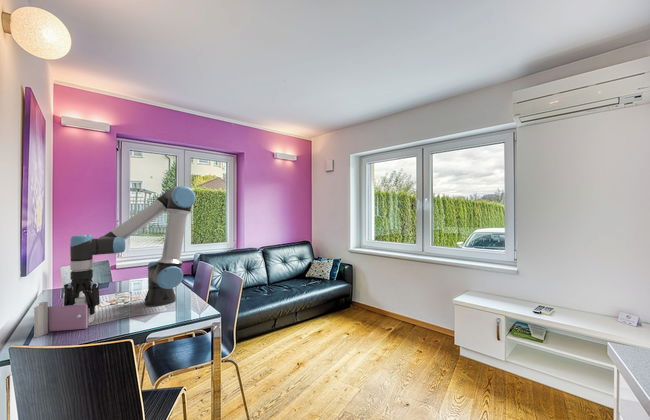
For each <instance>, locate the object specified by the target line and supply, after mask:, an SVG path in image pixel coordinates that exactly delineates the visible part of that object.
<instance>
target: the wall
mask: <svg viewBox="0 0 650 420" xmlns="http://www.w3.org/2000/svg"><path fill="white" fill-rule="evenodd" d="M84 296H85V295H84V293H83V292H82V291H81V292H80V293H79V296H78V297H84ZM48 302H49V301H42V302H39V304H38V306H35V307H33V313H34V317H33V318H34V319H33V320H34V322H33V323H34V324H33V325H34V326H33V327H34V328H33V329H34V330H33V332H34V333H33V334H34V335H33V336H34V338H40V337H42V336H44V335H47V334H48V333H49V332H48V307H49V305H48V304H49V303H48Z"/></svg>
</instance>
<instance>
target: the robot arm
mask: <svg viewBox="0 0 650 420" xmlns="http://www.w3.org/2000/svg"><path fill="white" fill-rule="evenodd" d="M196 197H197V196H196V193H195V191H194V190H193V189H192V188H190V187H189V186H184V185H179V186H175V187H170V188H169V189H167V190H166V191H165V192H163V194H161V195H160V196H159V197H157V198H155V199H154V202H153V203H152V204H150V205H148V206H147V207H145V208H144V209H142V210H141V211H139V212H137V213H136V214H135V215H133V216H131V217H130V218H128V219H126V221H123V222H122V223H121V224H119V225H118V226H116V227H115V228H113V229H112V230H111V231H109V232H107V233H106V234H104V235H101V236H100V237H98V238H94V237H93V234H74V235H72V236H71V237H70V244H69V248H70V249H69V252H70V255H69V256H70V265H69V267H70V269H69V270H70V274H69V275H70V276H69V278H70V280H71V281H70V282H69V283H66V284H64V285H63V288H64V293H65V295H64V306H69V305H74V304H75V303H76V302H75V298H78V296H79V293H80V292H81V291H82V292H83V293H84V295H85V297H86V300H87V303H88V306H89V307H88V324H89V323H90V324H91V323H93V322H94V315H95V313H96V306H99V305H100V304H101V299H100V288H99V287H100V282H98V281H97V282H94V281H93V276H94V274H93V273H94V270H93V269H92V268H93V267H94V263H93V261H94V256H99V255H101V256H102V255H113V254H122V253H124V252H125V250H126V240H128V239H129V238H130V237H131V236H133V235H135V234H136V233H137V232H139V231H140V230H142V229H143V228H145V227H146V226H148V225H149V224H150V223H152V222H153V221H155V220H157V219H158V218H159V217H160V216H162V215H164V214H168V213H169V214H168V219H167V225H166V229H165V230H166V231H165V237H164V242H163V249H162V253H161V257H160V259H158V260H157V261H150V262H149V263H148V265H147V266H148V267H147V283H148V284H147V285H148V286H147V288H148V290H147V292H146V294H145V295H146V296H145V297H144V306H147V307H159V306H165V305H169V304H172V303H174V302H175V301H176V300H177V296H176V293H175V290H174V288H176V287H177V286H179V285H180V284H181V283H182V281H183V278H184V272H183V270H182V268H183V261H182V260H181V254H182V248H183V242H184V235H185V231H186V222H187V219H188V218H187V216H188V215H189V214H190V213H191V212H192V211H191V210H192V206H194V204H195V202H196V199H197V198H196ZM86 290H87V291H86Z"/></svg>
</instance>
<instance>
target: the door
mask: <svg viewBox="0 0 650 420" xmlns="http://www.w3.org/2000/svg"><path fill="white" fill-rule="evenodd" d="M88 326H89V323H88V304H85V305H69V306H63V305H58V306H57V305H54V306H48V333H49V332H60V331H71V330H83V329H84V330H86V329H88Z"/></svg>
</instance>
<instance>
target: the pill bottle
mask: <svg viewBox="0 0 650 420" xmlns="http://www.w3.org/2000/svg"><path fill="white" fill-rule="evenodd" d="M75 302H76V303H75V304H74V305H85V304H88V303H87V300H86V297H85V296H84V297H78V298H75ZM88 307H89V306H88Z"/></svg>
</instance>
